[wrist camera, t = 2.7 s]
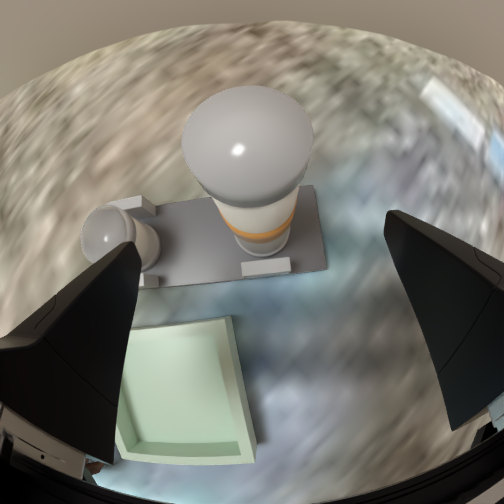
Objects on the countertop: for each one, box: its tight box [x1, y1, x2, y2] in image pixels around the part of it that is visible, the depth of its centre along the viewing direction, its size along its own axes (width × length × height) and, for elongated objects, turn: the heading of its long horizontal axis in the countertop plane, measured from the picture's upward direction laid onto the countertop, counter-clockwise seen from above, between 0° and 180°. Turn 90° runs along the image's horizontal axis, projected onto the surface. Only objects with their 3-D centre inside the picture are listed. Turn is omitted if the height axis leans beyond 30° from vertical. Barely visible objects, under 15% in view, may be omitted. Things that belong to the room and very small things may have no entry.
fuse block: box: [108, 185, 326, 290], centre depth 18 cm, size 6×17×4 cm, turn 96°
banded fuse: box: [182, 86, 314, 258], centre depth 13 cm, size 4×4×12 cm
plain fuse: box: [81, 204, 162, 272], centre depth 17 cm, size 4×4×5 cm
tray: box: [115, 315, 257, 465], centre depth 17 cm, size 11×11×3 cm
